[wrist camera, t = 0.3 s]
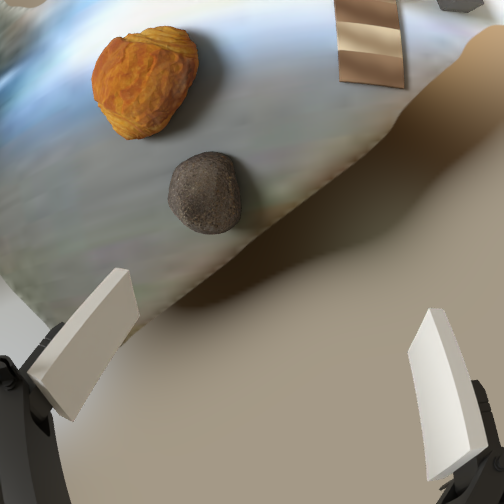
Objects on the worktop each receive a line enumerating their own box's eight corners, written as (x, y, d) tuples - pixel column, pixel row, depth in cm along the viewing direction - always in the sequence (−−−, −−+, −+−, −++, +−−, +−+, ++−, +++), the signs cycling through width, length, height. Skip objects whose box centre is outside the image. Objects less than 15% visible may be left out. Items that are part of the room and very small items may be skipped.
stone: (185, 161, 41) (148, 219, 38) (198, 129, 33) (152, 197, 30) (244, 196, 43) (213, 256, 40) (269, 172, 35) (233, 243, 32)
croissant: (226, 60, 33) (217, 39, 25) (157, 155, 37) (133, 156, 30) (145, 19, 31) (124, -3, 23) (84, 107, 35) (53, 101, 27)
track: (330, -26, 24) (331, -29, 23) (390, -17, 23) (392, -20, 22) (339, 81, 30) (340, 80, 30) (401, 88, 29) (404, 88, 28)
